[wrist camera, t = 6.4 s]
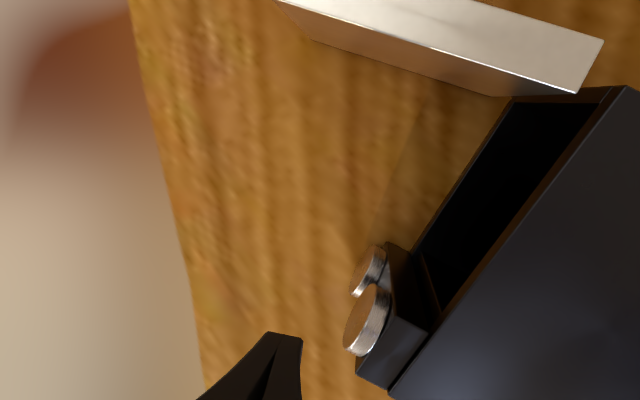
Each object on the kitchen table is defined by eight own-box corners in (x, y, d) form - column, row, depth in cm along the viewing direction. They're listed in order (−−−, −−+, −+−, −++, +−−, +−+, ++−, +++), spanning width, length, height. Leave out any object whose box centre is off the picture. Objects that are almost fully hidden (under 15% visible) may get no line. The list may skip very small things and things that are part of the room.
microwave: (349, 276, 22) (337, 369, 14) (475, 69, 17) (554, 46, 10) (517, 364, 22) (594, 504, 14) (685, 180, 17) (928, 241, 10)
